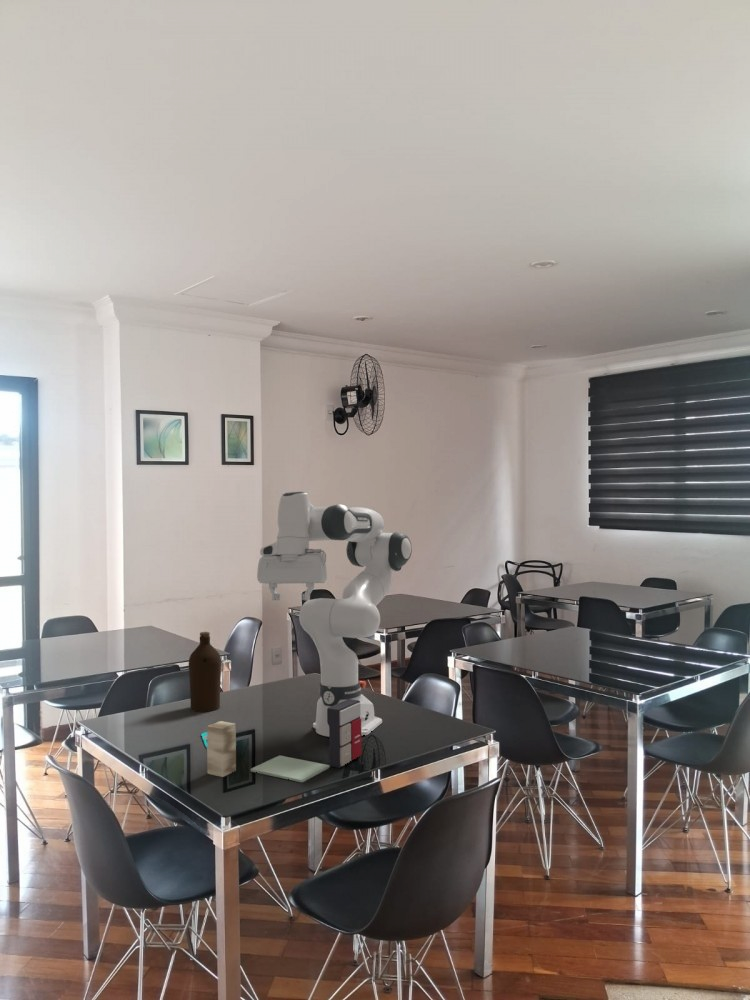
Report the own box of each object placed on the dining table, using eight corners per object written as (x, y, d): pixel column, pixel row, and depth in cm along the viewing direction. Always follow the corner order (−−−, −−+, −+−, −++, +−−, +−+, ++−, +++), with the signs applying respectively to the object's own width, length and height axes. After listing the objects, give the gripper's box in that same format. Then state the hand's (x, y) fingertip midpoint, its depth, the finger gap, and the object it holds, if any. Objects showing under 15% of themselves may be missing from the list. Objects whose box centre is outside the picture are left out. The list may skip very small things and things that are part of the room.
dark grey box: (341, 769, 198) (341, 710, 198) (327, 766, 201) (326, 708, 201) (363, 756, 208) (362, 700, 208) (349, 754, 210) (349, 698, 210)
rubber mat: (279, 757, 208) (279, 755, 208) (329, 767, 200) (329, 765, 200) (250, 771, 197) (250, 768, 197) (302, 782, 189) (302, 780, 189)
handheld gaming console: (229, 728, 232) (237, 743, 218) (229, 731, 232) (237, 747, 218) (200, 731, 230) (206, 747, 215) (200, 735, 230) (206, 750, 215)
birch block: (220, 767, 200) (220, 720, 200) (235, 770, 198) (235, 723, 198) (207, 773, 196) (207, 725, 196) (222, 777, 194) (222, 728, 194)
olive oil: (227, 708, 258) (227, 632, 258) (199, 714, 251) (198, 636, 251) (211, 702, 266) (210, 628, 266) (182, 708, 258) (182, 632, 258)
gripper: (331, 549, 212) (330, 600, 210) (267, 551, 221) (265, 600, 218) (320, 547, 207) (318, 599, 204) (255, 549, 215) (253, 599, 213)
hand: (290, 600), depth 211 cm, fingers open, 8 cm apart
